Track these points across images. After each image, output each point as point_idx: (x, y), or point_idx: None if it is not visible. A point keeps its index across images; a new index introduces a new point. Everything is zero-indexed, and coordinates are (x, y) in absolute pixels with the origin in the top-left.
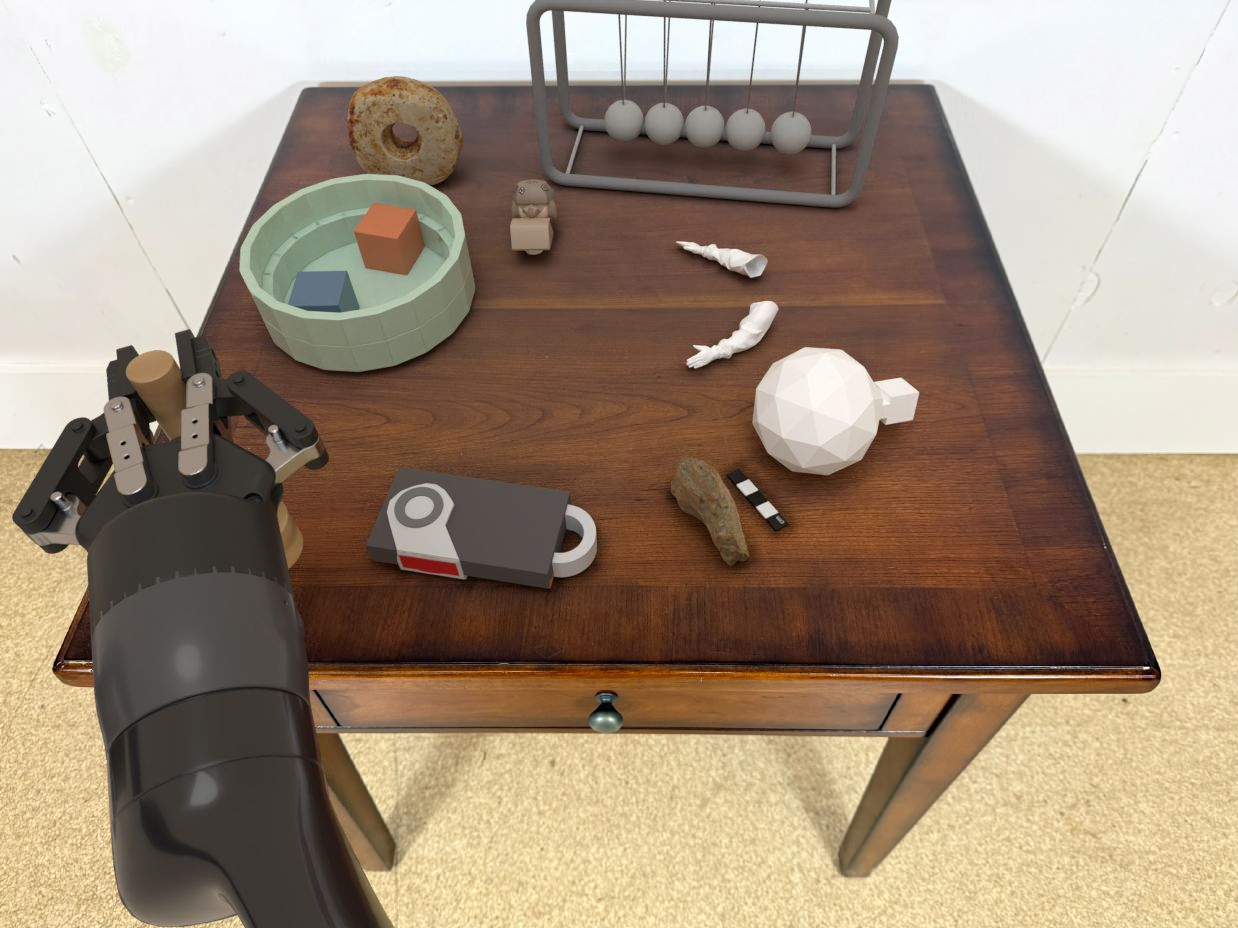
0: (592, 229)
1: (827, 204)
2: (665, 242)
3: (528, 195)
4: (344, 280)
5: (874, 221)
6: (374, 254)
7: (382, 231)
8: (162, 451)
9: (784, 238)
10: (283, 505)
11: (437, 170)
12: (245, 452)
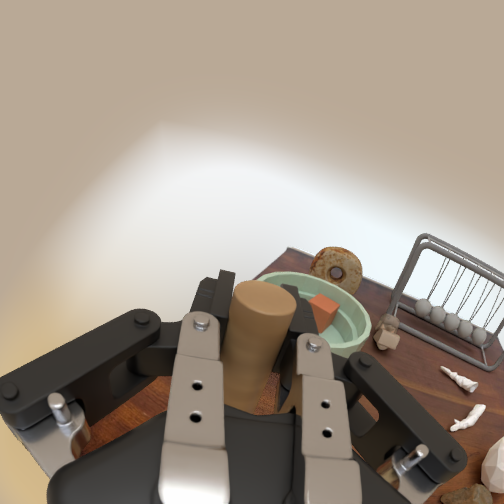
0: (404, 347)
1: (485, 368)
2: (433, 365)
3: (391, 320)
4: None
5: (497, 380)
6: None
7: (323, 307)
8: (250, 431)
9: (473, 378)
10: None
11: None
12: (386, 481)
